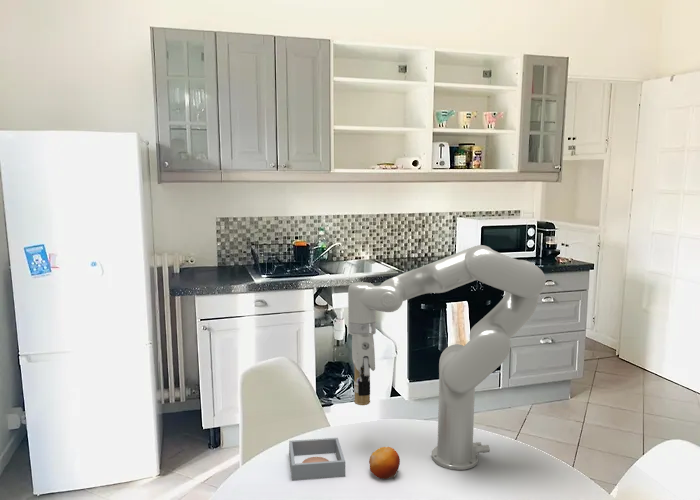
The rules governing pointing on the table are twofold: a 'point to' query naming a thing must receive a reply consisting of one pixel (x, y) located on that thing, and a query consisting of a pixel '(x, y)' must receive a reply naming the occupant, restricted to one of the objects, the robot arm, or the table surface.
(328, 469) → the grey square tray
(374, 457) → the fruit
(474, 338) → the robot arm
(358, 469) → the table surface
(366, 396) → the sprinkles bottle
